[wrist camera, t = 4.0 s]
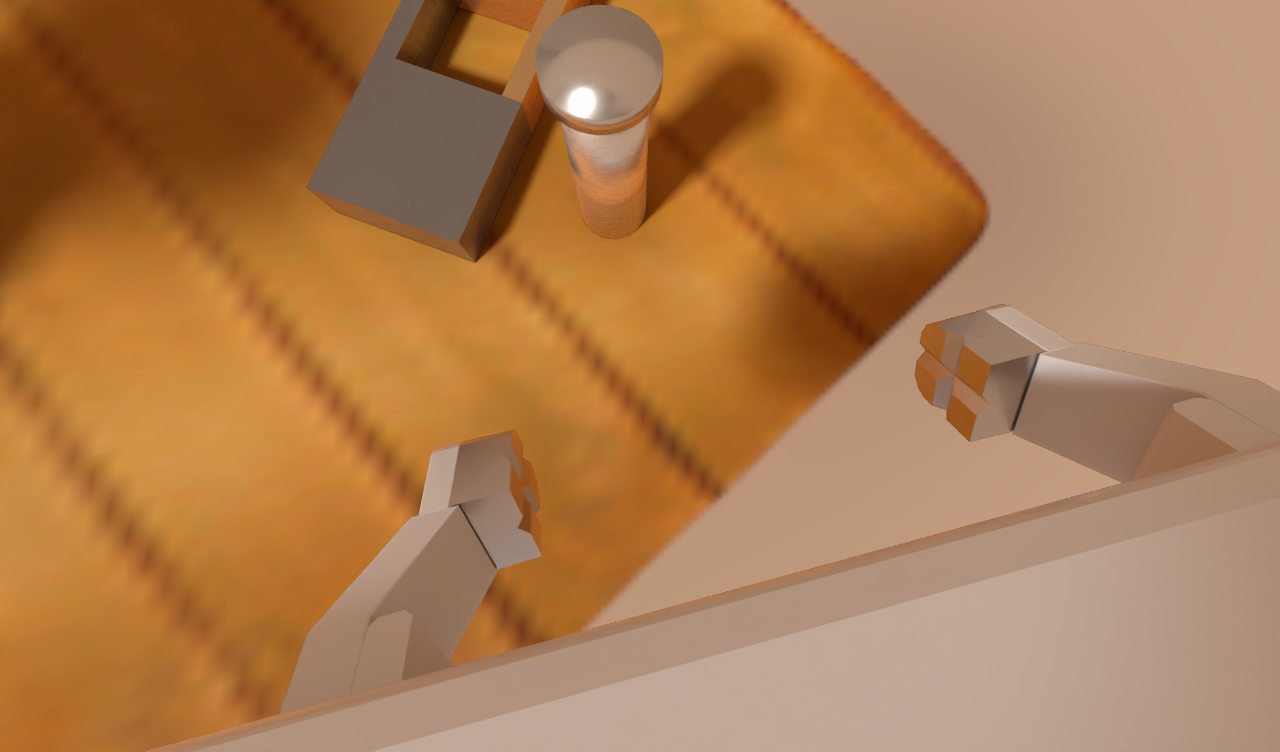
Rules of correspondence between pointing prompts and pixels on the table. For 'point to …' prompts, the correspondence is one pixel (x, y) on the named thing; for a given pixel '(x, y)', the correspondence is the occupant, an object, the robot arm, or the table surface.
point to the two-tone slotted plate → (435, 130)
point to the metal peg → (603, 108)
